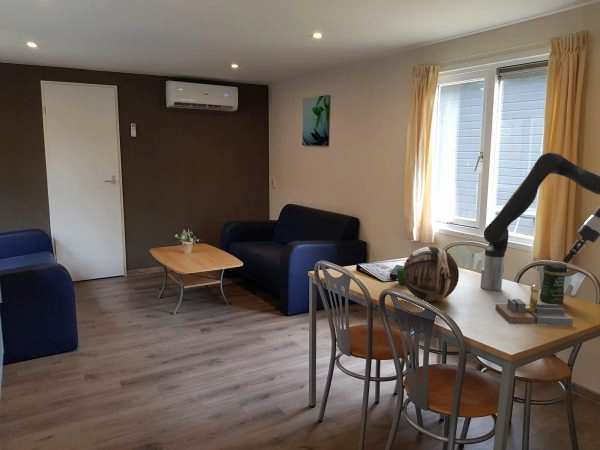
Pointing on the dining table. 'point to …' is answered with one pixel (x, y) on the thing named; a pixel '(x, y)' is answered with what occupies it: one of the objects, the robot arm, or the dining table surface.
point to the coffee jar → (553, 282)
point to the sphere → (430, 274)
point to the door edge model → (533, 313)
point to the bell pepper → (400, 276)
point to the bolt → (533, 299)
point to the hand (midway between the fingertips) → (565, 262)
